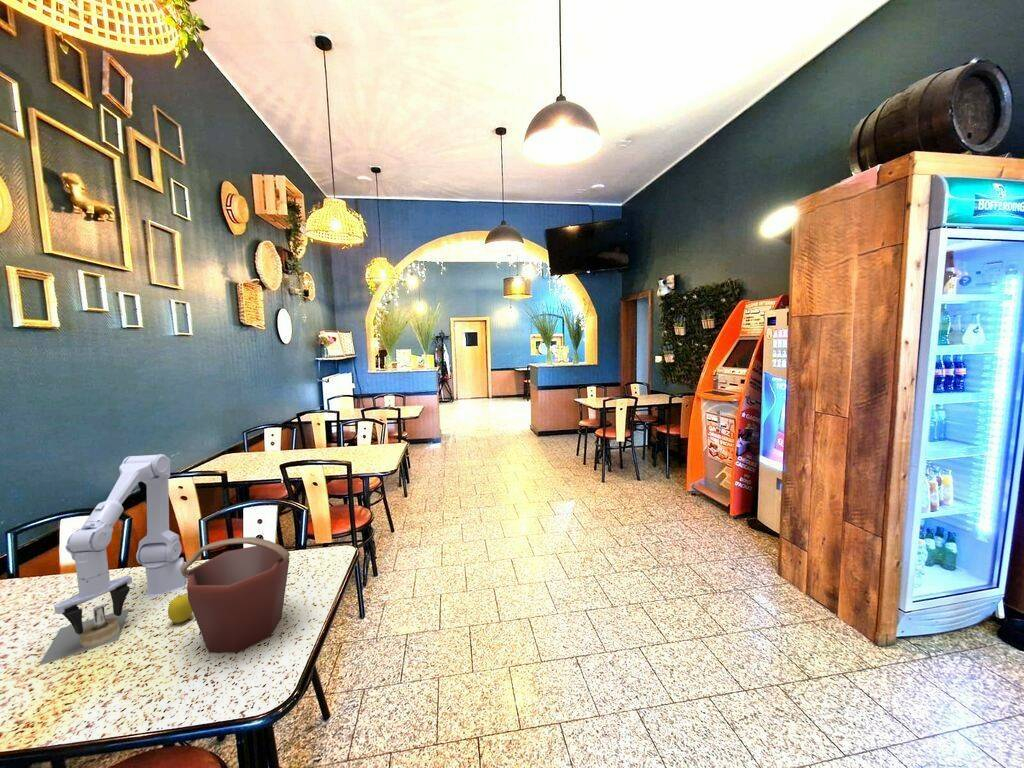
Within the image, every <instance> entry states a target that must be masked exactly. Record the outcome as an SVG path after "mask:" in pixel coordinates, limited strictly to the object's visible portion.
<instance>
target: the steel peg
mask: <svg viewBox="0 0 1024 768" xmlns="http://www.w3.org/2000/svg"><path fill="white" fill-rule="evenodd" d="M92 611H93V612H92V613H93V619H94V626H95V631H96V630H99V629H102V628H104V627H106V626H105V615H106V614H105V606H104V605H98V606H96V607H94V608H93V610H92Z"/></svg>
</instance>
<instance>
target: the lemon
mask: <svg viewBox="0 0 1024 768" xmlns="http://www.w3.org/2000/svg"><path fill="white" fill-rule="evenodd" d="M192 614H193V611H192V608H191V606H190V603H189V601H188V594H187V595H186V594H178V595H177V596H176V597H174V598H173V599H172V600H171V601H170V602H169V605H168V608H167V616H168V618H169V620H170V621H171V622H173V623H176V624H177V623H183V622H185V621H186V620H188V619H189V618H190V617H191V616H192Z"/></svg>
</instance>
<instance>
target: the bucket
mask: <svg viewBox="0 0 1024 768" xmlns="http://www.w3.org/2000/svg"><path fill="white" fill-rule="evenodd" d="M243 544H244V545H247V544H248V545H251V546H249V547H244V548H243V547H242V548H239V549H234V550H227V551H226V550H225V551H224V552H222V553H220V554H218V555H216V556H214V557H213V558H211V559H209V560H206V561H204V562H203V563H200V564H199V565H197V566H195V567H192V568H191V569H189V567H191V566H192V565H193V564H194V563H195V562H196V561H197V560H198V559H199V558H200V556H201V555H202V554H203V553H204V552H206V551H208V550H212V549H216V548H218V547H219V548H220V547H224V546H229V545H230V546H231V545H243ZM290 555H291V554H290V551H289V550H287V549H286V548H284V546H282V545H280V544H278V543H276V542H273V541H271V540H268V539H263V538H259V537H255V536H254V537H253V536H250V537H249V536H248V537H247V536H245V537H244V536H243V537H233V538H227V539H221V540H217V541H214V542H211V543H209V544H205V545H203V546H201V547H200V548H199V549H198V550H197V551H196V552H195V553H194V555H193V556H192V557H191V558H190V559H189V560H188V561H185V562H184V564H183V565H182V566H181V567H180V568H181V573H182V576H184V577H186V579H187V585H186V590H187V592H186V593H187V596H188V601H189V603H190V606H191V608H192V611H193V612H192V614H193V615H194V616H193V617H194V619H195V621H196V624H197V626H198V628H199V632H200V634H201V638H202V640H203V642H204V645H205V647H206V649H207V652H208V654H238V653H240V652H243V651H244V650H246V649H248V648H250V647H253V646H255V645H256V644H258V643H261V642H263V641H265V640H266V639H269V638H270V637H272V636H273V634H274V632H275V630H276V628H277V627H278V625H279V623H280V622H281V620H282V619H283V611H284V603H285V597H286V587H287V580H288V573H289V565H290Z"/></svg>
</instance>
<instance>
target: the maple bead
mask: <svg viewBox="0 0 1024 768" xmlns="http://www.w3.org/2000/svg"><path fill="white" fill-rule="evenodd" d="M105 626H106V627H104V628H102V629H99V630H96V631H95V626H94V623H93V624H90V625H88V626H87V627H85V628H84V629H83V633H82V634H80V641H81V645H82V646H83V647H91V646H95V645H99V644H102V643H104V642H106V641H108V640H110V639H112V638H113V637H115V636H116V635H117V634H118V633H119V631H120V627H119V619H117V618H107V619H105Z"/></svg>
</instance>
